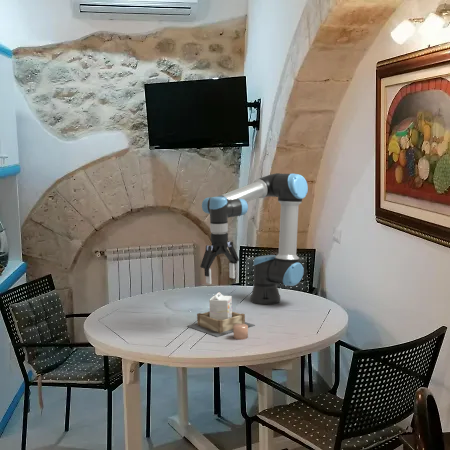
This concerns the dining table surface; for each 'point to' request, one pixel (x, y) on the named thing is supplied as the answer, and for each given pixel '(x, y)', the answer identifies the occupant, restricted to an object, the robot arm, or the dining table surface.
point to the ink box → (220, 307)
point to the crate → (218, 324)
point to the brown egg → (240, 331)
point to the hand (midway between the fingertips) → (220, 280)
